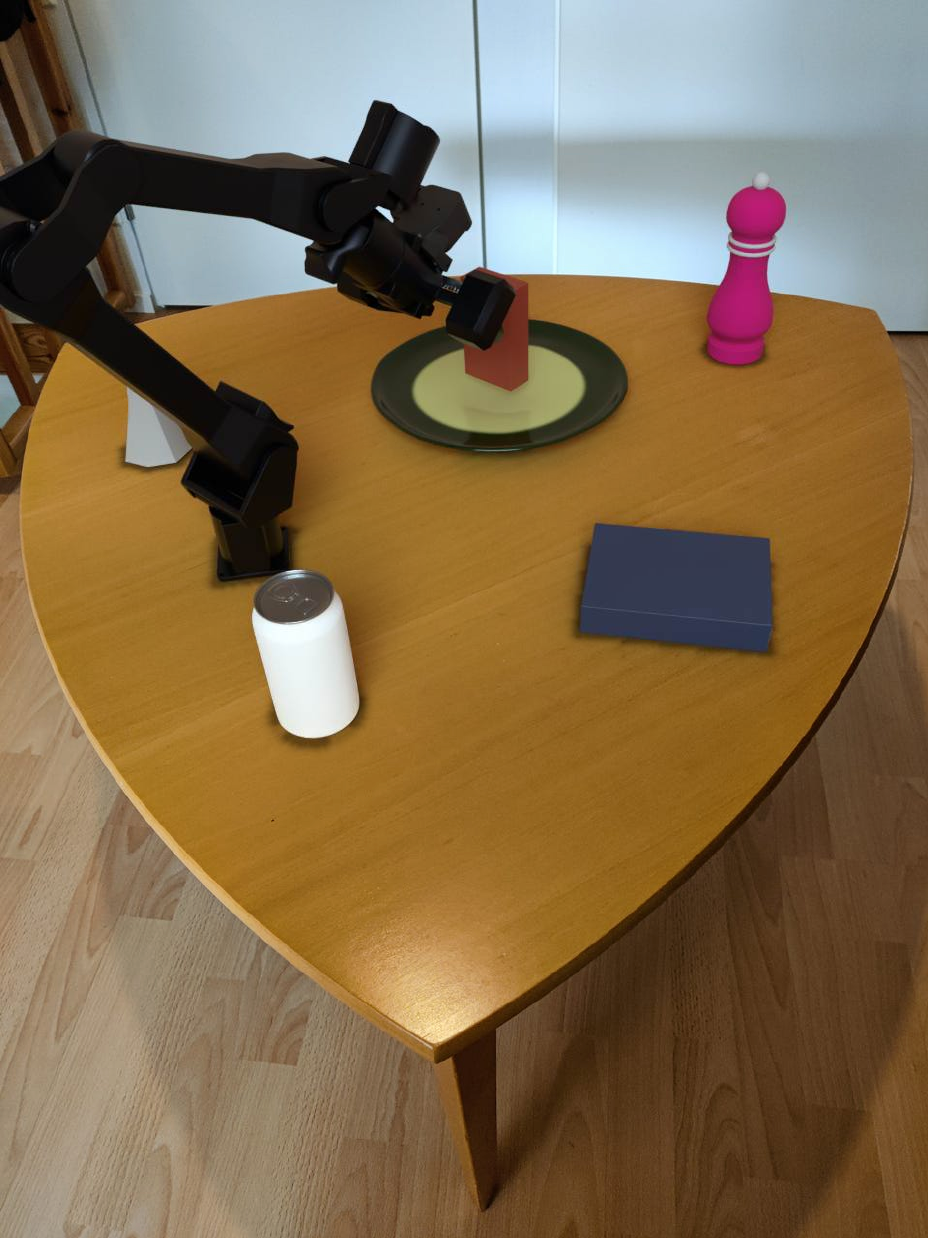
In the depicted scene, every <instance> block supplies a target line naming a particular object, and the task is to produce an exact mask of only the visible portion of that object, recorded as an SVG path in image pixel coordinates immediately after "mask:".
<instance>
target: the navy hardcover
mask: <svg viewBox="0 0 928 1238" xmlns="http://www.w3.org/2000/svg"><path fill="white" fill-rule="evenodd" d="M589 550H590V551H589V556H588V562H587V568H586V574H585V580H584V587H583V592H582V597H581V604H580V615H579V633H583V634H592V635H599V636H601V635H602V636H608V637H609V636H611V637H618V638H619V637H620V638H629V639H638V640H648V641H656V642H667V643H675V644H685V645H692V646H693V645H695V646H703V647H712V648H713V647H715V648H722V649H731V650H741V651H751V652H760V653H767V652H768V648H769V644H770V639H771V636H772V632H773V626H774V624H773V623H774V622H773V621H774V620H773V596H772V595H773V594H772V593H773V592H772V565H771V564H772V563H771V562H772V561H771V538H769V537H761V536H760V537H759V536H749V535H747V536H746V535H738V534H737V535H736V534H725V533H715V532H702V531H693V530H691V531H690V530H681V529H679V530H678V529H668V528H659V527H656V528H655V527H645V526H634V525H622V524H613V523H612V524H610V523H600V522H595V523H594V525H593V531H592V538H591V544H590V549H589Z"/></svg>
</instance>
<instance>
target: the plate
mask: <svg viewBox="0 0 928 1238" xmlns="http://www.w3.org/2000/svg"><path fill="white" fill-rule="evenodd" d="M628 388H629V375H628V372H627V369H626V366H625V364H624V363H623V361H622V359H621V358H620V357H619V355H618V354H617V353H616V351H614V350H613V349H612V348H611V347H610V346H609V345H608V344H606V343H605V342H603V341H601V340H600V339H599V338H597V337H596V336H594V335H591V334H589V333H587V332H584V331H582V330H579V329H577V328H574V327H572V326H571V327H570V326H568V325H564V324H561V323H556V322H551V321H547V320H540V319H533V318H528V381H527V382H525V383H524V384H522V385H520V386H519V387H517V388H516V389H514V390H513V391H511V392H510V391H508V390H505V389H503V388H500V387H498V386H495V385H493V384H490V383H488V382H486V381H483V380H481V379H478V378H476V377H473V376H471V375H468V374H466V373H465V360H464V343H461V342H459V341H457V340H456V339H454V338H452V337H451V336H449V335H448V334H447V333H446V325H444V326H439V327H436V328H433V329H429V330H428V331H425V332H422V333H420V334H418V335H416V336H413V337H411V338H410V339H408V340H406V341H404V342H402V343H401V344H399V345H398V346H396V347H394V348H393V349H391V350H390V351H388V352H387V353H385V355H384V356H383V357H381V359H380V360H379V361H378V363H377V364H376V366H375V369H374V371H373V374H372V377H371V382H370V395H371V396H370V397H371V400H372V402H373V404H374V405H373V406H374V407H375V408H376V410H377V411H378V413H379V414H380V415H381V416H382V417H383V418H385V419H386V420H387V421H388V422H389V423H391V424H392V425H393V426H394V427H396V428H397V429H398V430H400V431H401V432H403V433H405V434H407V435H408V436H410V437H412V438H415V439H417V440H420V441H421V442H424V443H428V444H431V445H436V446H438V447H442V448H446V449H447V448H448V449H453V450H459V451H469V452H481V453H503V452H519V451H526V450H532V449H533V450H534V449H539V448H544V447H547V446H552V445H555V444H559V443H561V442H565V441H567V440H569V439H572V438H574V437H577V436H579V435H580V434H583V433H585V432H587V431H589V430H591V429H593V428H595V427H597V426H599V425H600V424H602V423H604V422H605V421H606V420H607V419H609V418H610V417H611V416H612V415H614V413H615V412H616V411H617V410H618V409H619V408H620V406H621V405H622V404H623V401H624V400H625V397H626V395H627V392H628Z"/></svg>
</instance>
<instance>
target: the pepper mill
mask: <svg viewBox="0 0 928 1238" xmlns="http://www.w3.org/2000/svg"><path fill="white" fill-rule="evenodd" d="M770 184H771V177H770V175H769V174H768V173H767V172H766V171H758V172H756V173H755V175H754V176H752V179H751V185H749V186H747V187H744V188H741V189H740V190H739V191H737V192H736V193H734V195H733V196H732V197H731V199H730V201H729V203H728V205H727V209H726V213H725V215H726V216H725V219H726V224H727V227H729V230H730V232H729V233H728V235H727V240H728V241H727V242H726V248H727V250H728V252H729V257H728V259H729V260H728V263H727V268H726V271H725V274H724V276H723V278H722V280H721V282H720V283H719V285H718V287H717V289H716V291H715V292H714V294H713V296H712V298H711V299H710V302H709V305H708V309H707V312H706V313H707V314H706V323H707V326H708V327H709V328H710V330H711V332H710V333H709V334H708V337H707V345H706V352H707V354H708V355H709V357H711V358H712V359H713V360H715V361H717V362H719V363H722V364H726V365H734V366H739V365H740V366H741V365H747V364H752V363H754V362H756V361H758V360H759V359H760V358H761V357H762V356H763V353H764V347H765V337H764V335H765V334H766V333H768V331H769V330H770V329H771V327H772V324H773V322H774V313H775V310H774V309H775V308H774V301H773V297H772V293H771V288H770V286H769V280H768V279H769V278H768V270H769V269H768V266H769V260H770V255H771V254H773V253H774V252H775V250H776V243H777V239H778V237H777V235H776V233H778V232H779V230H780V229H781V228H783V226H784V223H785V220H786V217H787V205H786V200H785V198H784V197H783V195H782V193H780V192H779V191H778V190H776V189H775V188H773V187H770Z"/></svg>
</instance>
